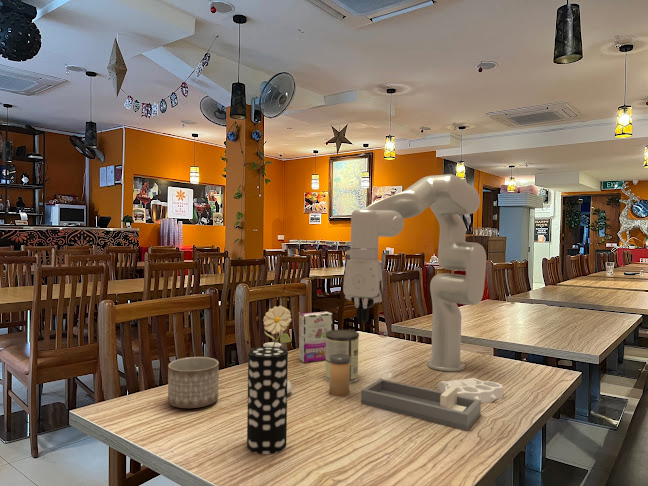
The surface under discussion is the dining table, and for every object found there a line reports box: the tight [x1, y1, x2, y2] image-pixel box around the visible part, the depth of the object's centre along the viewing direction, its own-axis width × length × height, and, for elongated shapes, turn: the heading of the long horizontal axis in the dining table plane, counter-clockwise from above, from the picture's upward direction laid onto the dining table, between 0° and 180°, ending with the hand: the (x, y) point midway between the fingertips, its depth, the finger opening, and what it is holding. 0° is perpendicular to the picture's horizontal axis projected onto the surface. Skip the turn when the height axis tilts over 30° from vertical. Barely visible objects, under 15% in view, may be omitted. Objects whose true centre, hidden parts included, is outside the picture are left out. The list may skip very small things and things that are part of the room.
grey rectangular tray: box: [360, 378, 482, 431], centre depth 120 cm, size 11×28×4 cm, turn 57°
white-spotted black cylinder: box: [246, 346, 289, 455], centre depth 99 cm, size 8×8×20 cm
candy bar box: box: [298, 311, 333, 364], centre depth 163 cm, size 11×5×16 cm, turn 117°
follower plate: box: [440, 386, 467, 412], centre depth 115 cm, size 8×4×5 cm, turn 147°
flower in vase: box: [262, 305, 293, 395], centre depth 128 cm, size 13×11×25 cm
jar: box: [328, 354, 350, 397], centre depth 131 cm, size 6×6×10 cm
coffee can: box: [324, 329, 360, 384], centre depth 143 cm, size 10×10×14 cm
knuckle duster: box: [437, 377, 504, 404], centre depth 131 cm, size 3×18×15 cm
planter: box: [167, 356, 220, 409], centre depth 122 cm, size 13×13×10 cm
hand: (362, 322), depth 127 cm, fingers closed
